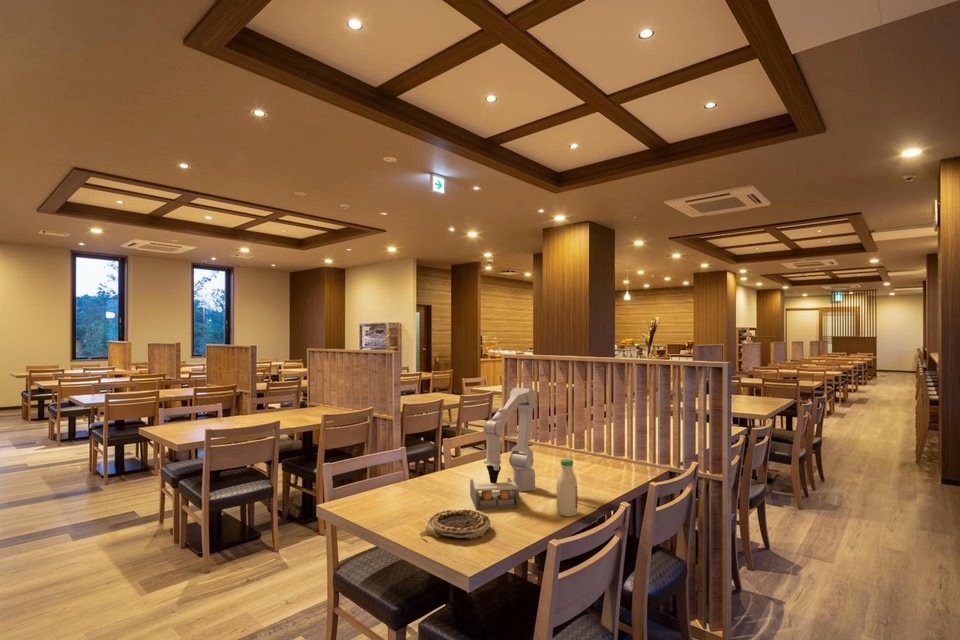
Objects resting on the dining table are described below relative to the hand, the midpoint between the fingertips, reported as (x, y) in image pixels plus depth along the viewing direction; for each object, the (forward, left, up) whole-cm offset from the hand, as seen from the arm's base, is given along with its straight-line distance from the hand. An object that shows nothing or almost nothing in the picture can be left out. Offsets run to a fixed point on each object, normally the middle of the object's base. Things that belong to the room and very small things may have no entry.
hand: (493, 483), depth 204 cm
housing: (0, 0, -7) cm, 7 cm away
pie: (+17, +30, -8) cm, 35 cm away
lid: (0, +4, 0) cm, 4 cm away
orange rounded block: (-4, +5, -6) cm, 9 cm away
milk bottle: (-25, +18, -7) cm, 32 cm away
